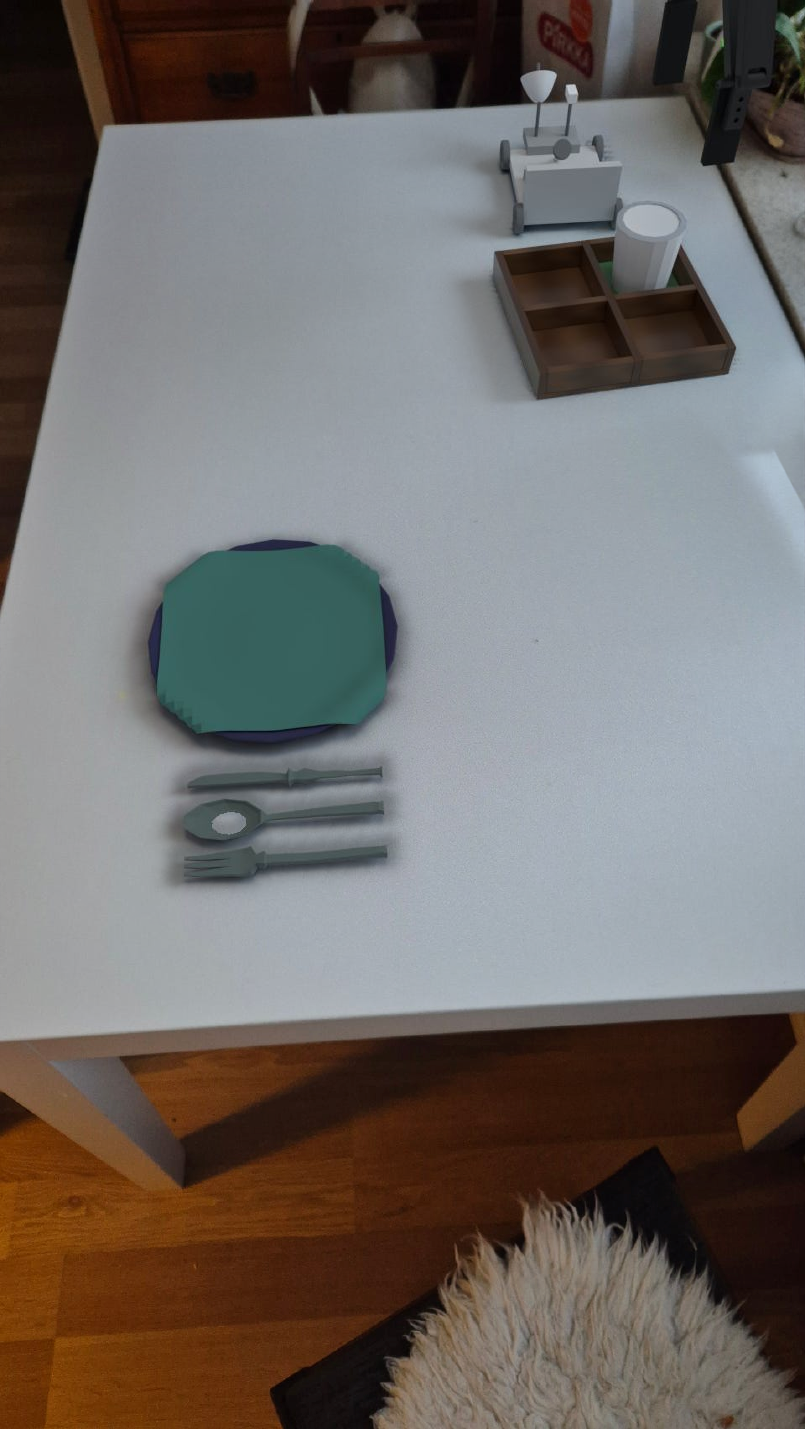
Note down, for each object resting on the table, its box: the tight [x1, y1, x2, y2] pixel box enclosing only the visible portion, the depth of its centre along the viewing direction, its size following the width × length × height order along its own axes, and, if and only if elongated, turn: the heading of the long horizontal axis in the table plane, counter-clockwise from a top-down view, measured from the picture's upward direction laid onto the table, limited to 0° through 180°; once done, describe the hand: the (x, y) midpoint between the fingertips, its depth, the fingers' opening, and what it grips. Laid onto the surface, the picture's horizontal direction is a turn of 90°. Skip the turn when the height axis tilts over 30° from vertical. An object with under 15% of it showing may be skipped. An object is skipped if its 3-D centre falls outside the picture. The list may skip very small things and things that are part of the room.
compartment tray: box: [492, 235, 737, 401], centre depth 101 cm, size 19×19×3 cm
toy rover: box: [499, 62, 624, 235], centre depth 111 cm, size 18×10×12 cm
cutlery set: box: [147, 538, 399, 878], centre depth 78 cm, size 20×30×2 cm, turn 4°
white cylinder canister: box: [611, 200, 688, 294], centre depth 102 cm, size 7×7×7 cm
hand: (691, 121), depth 89 cm, fingers open, 13 cm apart
